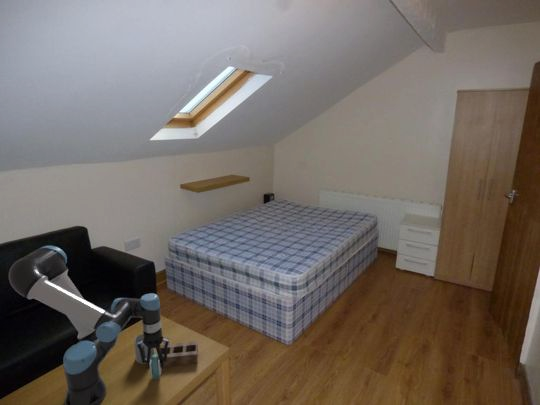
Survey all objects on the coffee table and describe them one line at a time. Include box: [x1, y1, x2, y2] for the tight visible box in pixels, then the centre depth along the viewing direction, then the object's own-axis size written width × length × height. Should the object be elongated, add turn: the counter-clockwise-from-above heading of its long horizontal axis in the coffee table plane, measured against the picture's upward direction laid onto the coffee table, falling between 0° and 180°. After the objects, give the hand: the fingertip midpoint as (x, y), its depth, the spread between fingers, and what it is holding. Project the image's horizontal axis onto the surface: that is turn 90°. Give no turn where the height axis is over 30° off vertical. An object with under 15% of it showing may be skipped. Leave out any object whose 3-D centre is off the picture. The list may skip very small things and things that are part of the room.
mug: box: [133, 333, 156, 365], centre depth 163 cm, size 12×8×11 cm
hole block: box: [158, 341, 199, 368], centre depth 162 cm, size 18×9×5 cm, turn 100°
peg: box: [151, 353, 161, 381], centre depth 150 cm, size 3×3×11 cm
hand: (156, 373), depth 151 cm, fingers closed on peg, 3 cm apart
